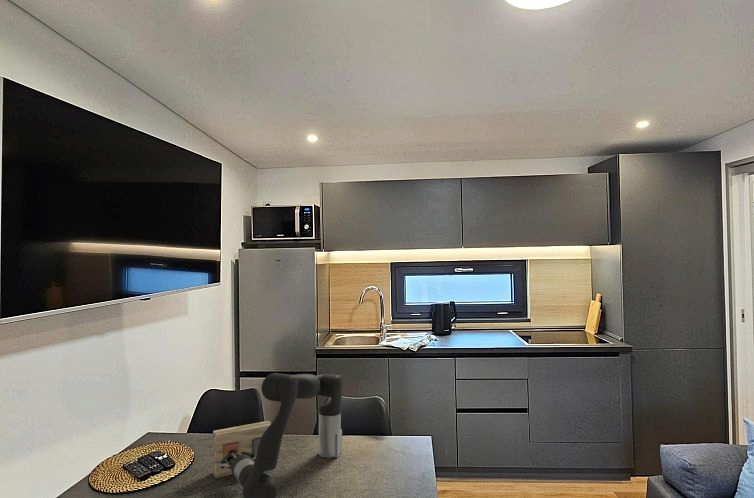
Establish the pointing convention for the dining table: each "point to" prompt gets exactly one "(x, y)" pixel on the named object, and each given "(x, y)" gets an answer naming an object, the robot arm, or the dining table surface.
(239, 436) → the key panel
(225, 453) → the brick red key
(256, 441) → the graphite key
